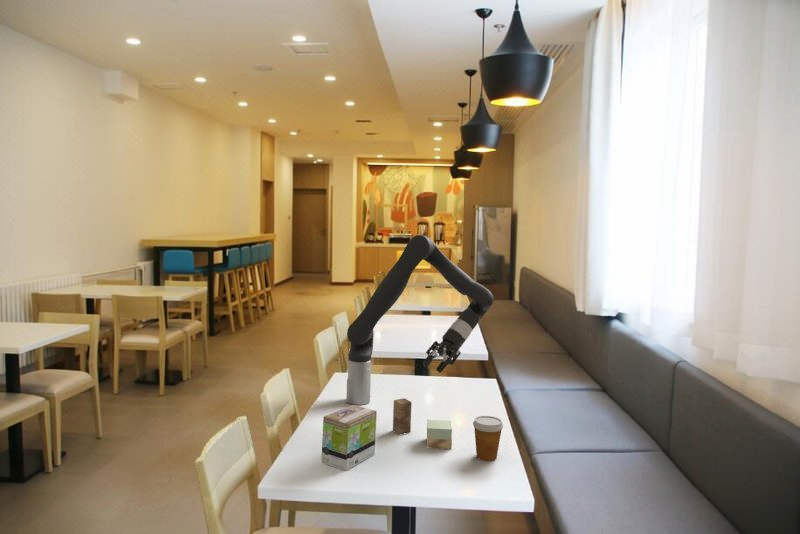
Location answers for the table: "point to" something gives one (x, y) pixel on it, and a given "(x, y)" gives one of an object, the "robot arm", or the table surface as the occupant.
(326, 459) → the tea box
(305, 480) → the table surface
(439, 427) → the sage slab
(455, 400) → the table surface
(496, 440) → the disposable coffee cup
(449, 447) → the oak slab
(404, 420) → the walnut pillar
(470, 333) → the robot arm
